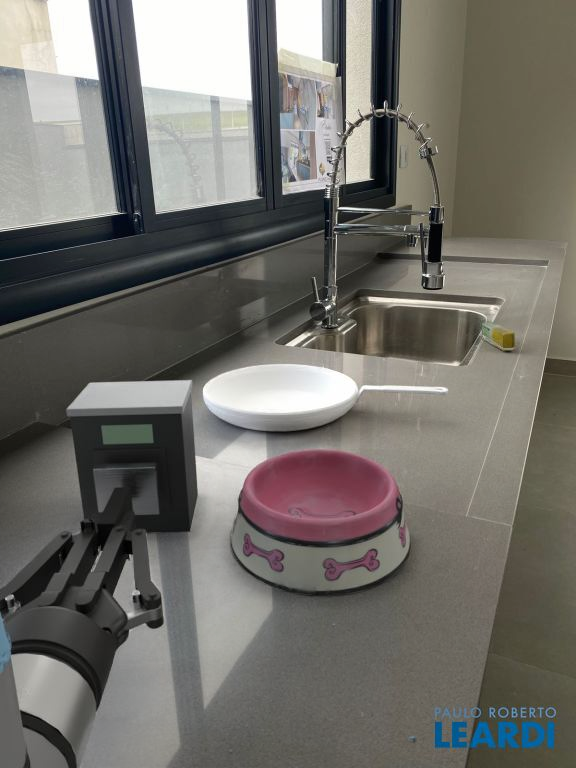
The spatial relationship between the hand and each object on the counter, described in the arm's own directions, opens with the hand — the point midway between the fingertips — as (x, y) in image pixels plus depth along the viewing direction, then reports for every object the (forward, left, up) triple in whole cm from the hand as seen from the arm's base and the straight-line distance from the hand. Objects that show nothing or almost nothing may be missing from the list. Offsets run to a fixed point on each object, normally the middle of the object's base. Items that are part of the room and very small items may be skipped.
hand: (124, 500), depth 58 cm
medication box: (+48, +89, -7) cm, 101 cm away
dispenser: (-2, +8, -6) cm, 10 cm away
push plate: (0, +2, -3) cm, 3 cm away
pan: (+14, +43, -7) cm, 46 cm away
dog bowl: (+18, +6, -7) cm, 20 cm away
